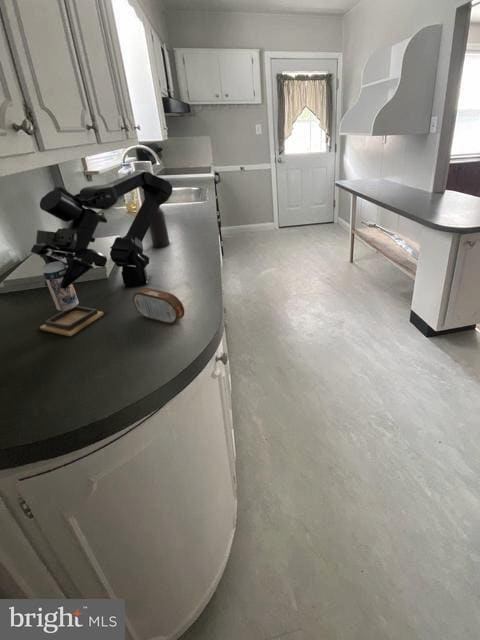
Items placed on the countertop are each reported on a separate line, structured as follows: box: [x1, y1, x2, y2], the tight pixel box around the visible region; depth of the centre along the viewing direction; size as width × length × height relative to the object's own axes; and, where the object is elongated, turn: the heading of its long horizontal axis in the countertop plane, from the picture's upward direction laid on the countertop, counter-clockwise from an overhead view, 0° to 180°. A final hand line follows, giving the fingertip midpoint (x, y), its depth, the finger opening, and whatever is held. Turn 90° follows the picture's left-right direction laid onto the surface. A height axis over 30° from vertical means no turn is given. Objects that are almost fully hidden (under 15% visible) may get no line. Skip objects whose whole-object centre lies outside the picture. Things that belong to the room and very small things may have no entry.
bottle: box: [148, 205, 170, 248], centre depth 128 cm, size 7×7×20 cm
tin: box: [132, 286, 185, 325], centre depth 79 cm, size 15×3×8 cm, turn 68°
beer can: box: [41, 261, 80, 312], centre depth 76 cm, size 5×5×12 cm
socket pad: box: [39, 305, 105, 337], centre depth 80 cm, size 10×10×2 cm
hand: (54, 287), depth 74 cm, fingers closed on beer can, 5 cm apart
